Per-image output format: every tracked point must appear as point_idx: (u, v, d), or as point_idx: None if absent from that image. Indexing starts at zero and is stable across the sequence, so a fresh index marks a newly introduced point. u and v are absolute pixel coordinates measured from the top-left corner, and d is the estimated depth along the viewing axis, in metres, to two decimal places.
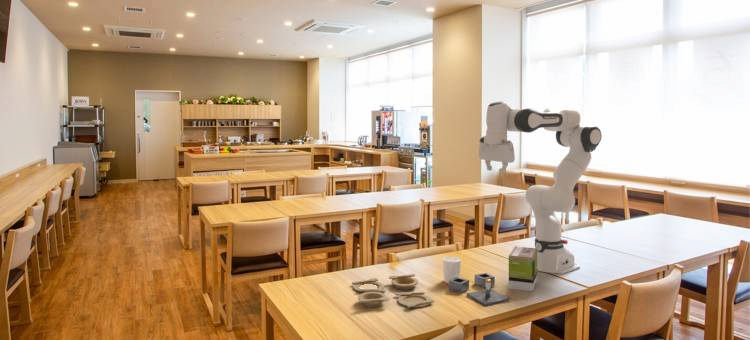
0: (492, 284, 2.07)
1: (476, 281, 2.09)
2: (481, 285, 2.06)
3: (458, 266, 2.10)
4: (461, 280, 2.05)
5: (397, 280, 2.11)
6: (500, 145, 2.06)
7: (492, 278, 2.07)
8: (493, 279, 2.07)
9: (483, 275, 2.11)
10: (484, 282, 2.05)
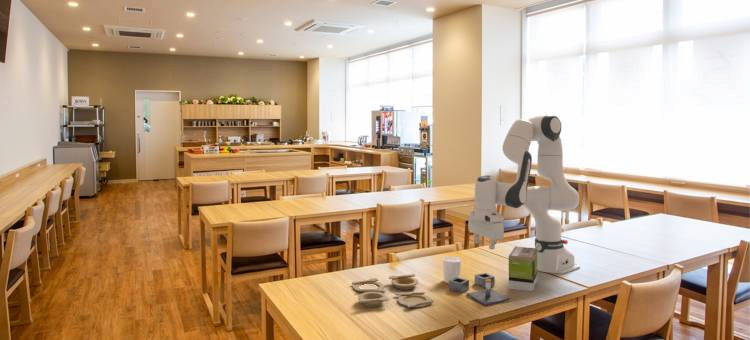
0: (492, 284, 2.07)
1: (476, 281, 2.09)
2: (481, 285, 2.06)
3: (458, 266, 2.10)
4: (461, 280, 2.05)
5: (397, 280, 2.11)
6: None
7: (492, 278, 2.07)
8: (493, 279, 2.07)
9: (483, 275, 2.11)
10: (484, 282, 2.05)
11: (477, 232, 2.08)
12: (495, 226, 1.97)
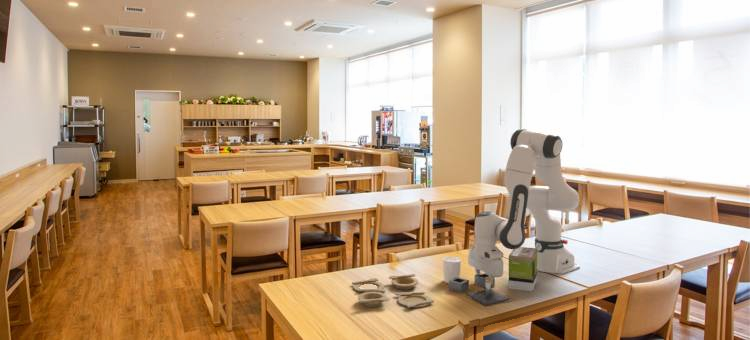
0: (492, 284, 2.07)
1: (476, 281, 2.09)
2: (481, 285, 2.06)
3: (458, 266, 2.10)
4: (461, 280, 2.05)
5: (397, 280, 2.11)
6: None
7: None
8: (493, 279, 2.07)
9: (483, 275, 2.11)
10: (484, 282, 2.05)
11: (477, 267, 2.10)
12: (495, 263, 1.99)
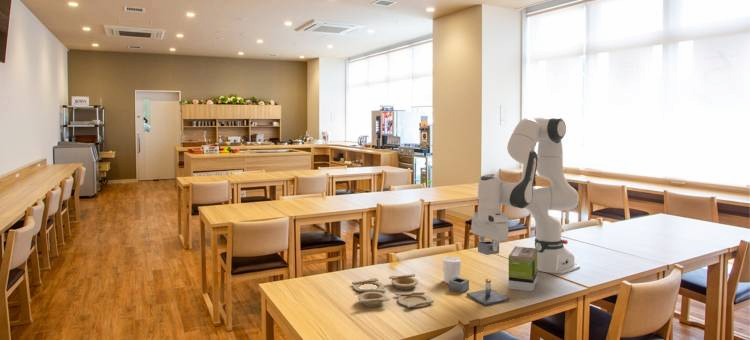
0: (496, 251, 1.96)
1: (479, 248, 1.98)
2: (485, 252, 1.95)
3: (458, 266, 2.10)
4: (461, 280, 2.05)
5: (397, 280, 2.11)
6: None
7: None
8: (497, 246, 1.96)
9: (487, 242, 2.00)
10: (488, 248, 1.94)
11: (480, 234, 1.99)
12: (499, 226, 1.88)
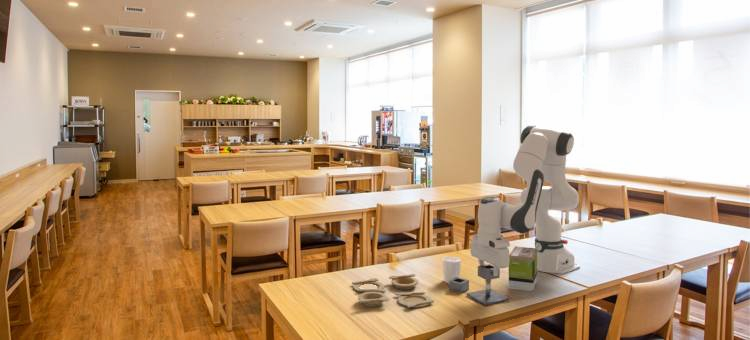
0: (497, 276, 1.91)
1: (479, 273, 1.93)
2: (485, 277, 1.90)
3: (458, 266, 2.10)
4: (461, 280, 2.05)
5: (397, 280, 2.11)
6: None
7: None
8: (498, 271, 1.91)
9: (487, 266, 1.94)
10: (488, 274, 1.89)
11: (480, 257, 1.94)
12: (500, 252, 1.82)
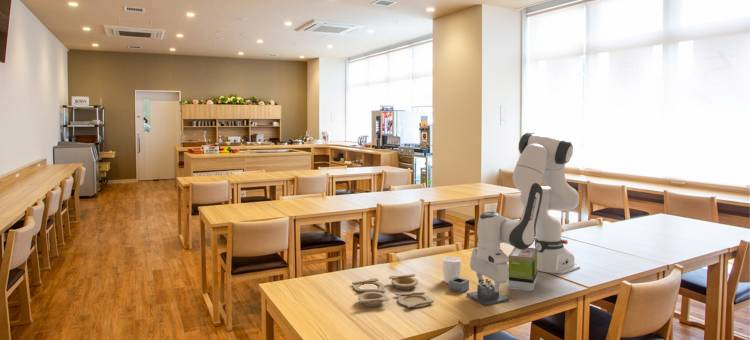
0: (496, 295, 1.92)
1: (479, 292, 1.94)
2: (484, 296, 1.91)
3: (458, 266, 2.10)
4: (461, 280, 2.05)
5: (397, 280, 2.10)
6: None
7: None
8: None
9: None
10: (488, 293, 1.90)
11: (480, 272, 1.95)
12: (499, 268, 1.83)
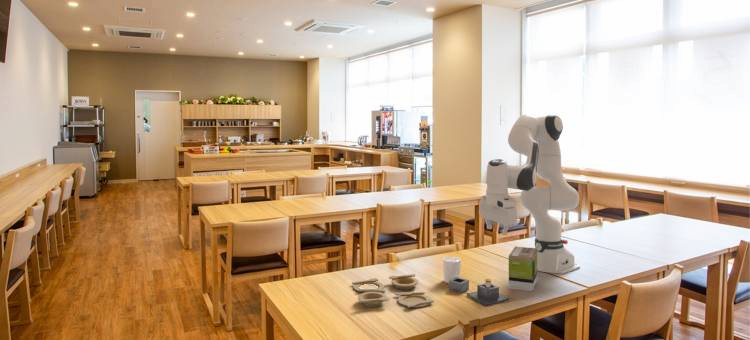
0: (496, 295, 1.92)
1: (479, 292, 1.94)
2: (484, 296, 1.91)
3: (458, 266, 2.10)
4: (461, 280, 2.05)
5: (397, 280, 2.11)
6: None
7: (496, 289, 1.92)
8: (497, 290, 1.92)
9: None
10: (488, 293, 1.90)
11: (489, 217, 2.03)
12: (508, 212, 1.92)
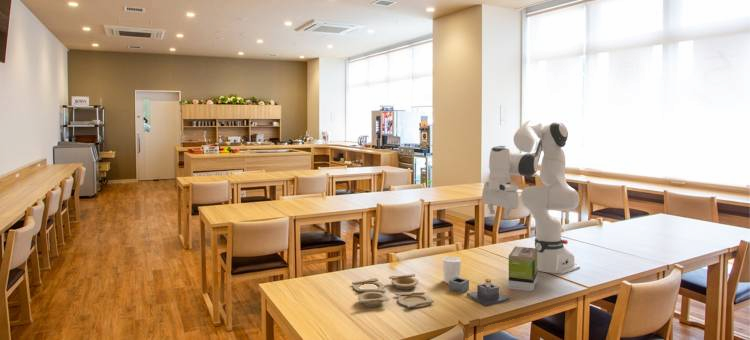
0: (496, 295, 1.92)
1: (479, 292, 1.94)
2: (484, 296, 1.91)
3: (458, 266, 2.10)
4: (461, 280, 2.05)
5: (397, 280, 2.10)
6: None
7: (496, 289, 1.92)
8: (497, 290, 1.92)
9: None
10: (488, 293, 1.90)
11: (491, 202, 2.11)
12: (510, 194, 2.00)
